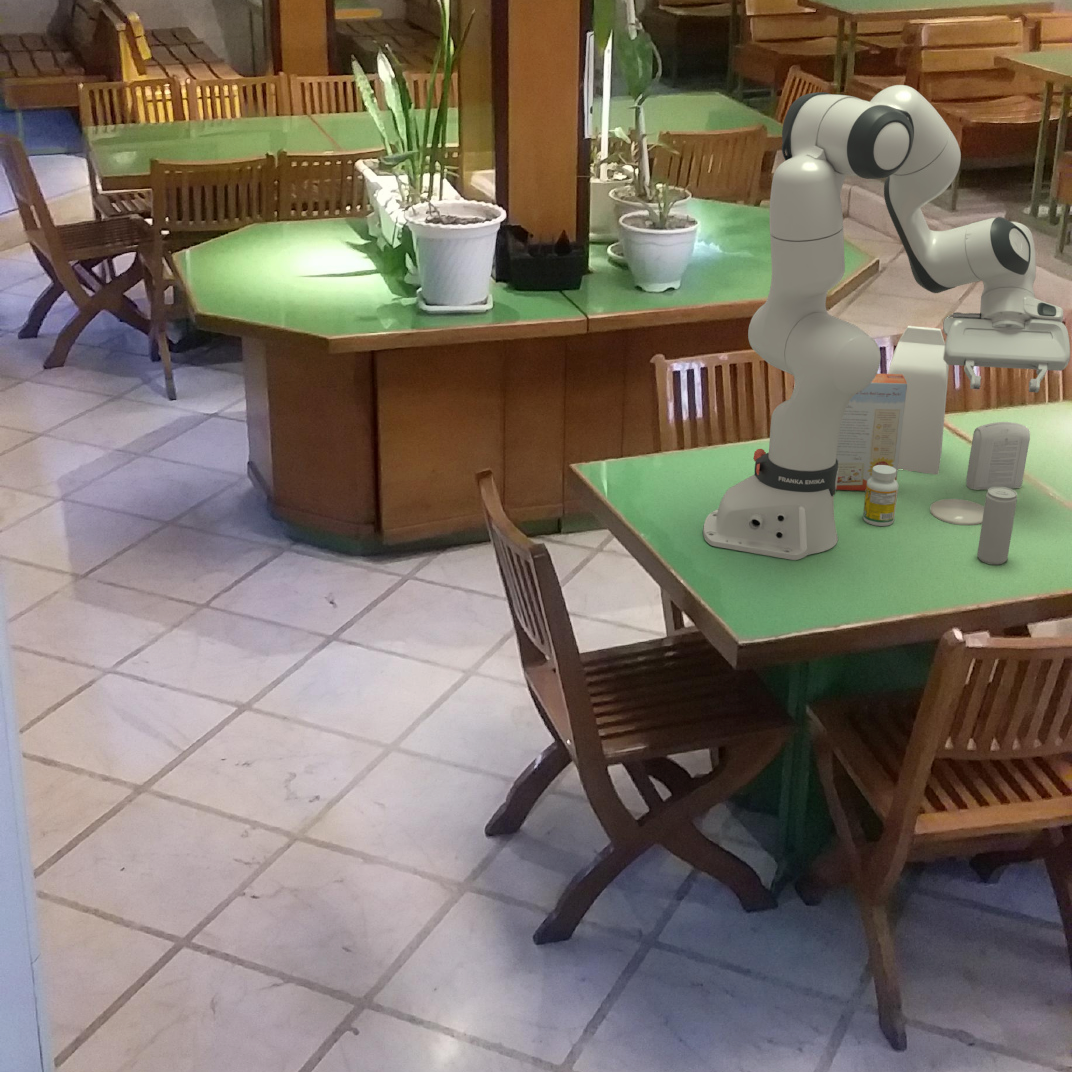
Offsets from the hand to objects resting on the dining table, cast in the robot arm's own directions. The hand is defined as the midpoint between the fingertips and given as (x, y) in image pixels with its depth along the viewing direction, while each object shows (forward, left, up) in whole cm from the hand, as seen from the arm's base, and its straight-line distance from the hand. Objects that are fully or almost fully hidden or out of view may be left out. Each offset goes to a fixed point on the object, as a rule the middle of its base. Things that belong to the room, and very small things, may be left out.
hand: (1004, 389), depth 242 cm
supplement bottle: (-18, -4, -24) cm, 30 cm away
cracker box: (-22, +11, -24) cm, 35 cm away
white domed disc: (-4, +2, -24) cm, 24 cm away
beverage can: (0, -16, -24) cm, 29 cm away
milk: (-12, +26, -24) cm, 38 cm away
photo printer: (+3, +16, -24) cm, 29 cm away
